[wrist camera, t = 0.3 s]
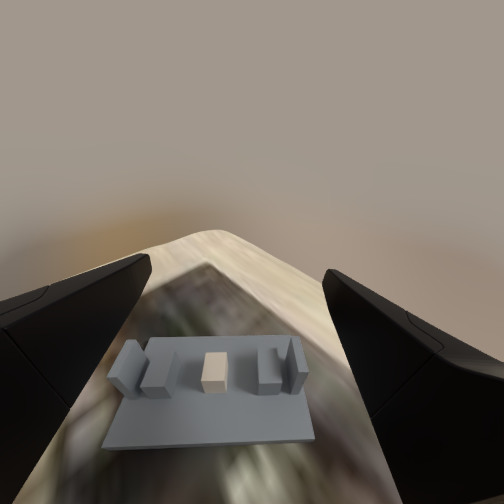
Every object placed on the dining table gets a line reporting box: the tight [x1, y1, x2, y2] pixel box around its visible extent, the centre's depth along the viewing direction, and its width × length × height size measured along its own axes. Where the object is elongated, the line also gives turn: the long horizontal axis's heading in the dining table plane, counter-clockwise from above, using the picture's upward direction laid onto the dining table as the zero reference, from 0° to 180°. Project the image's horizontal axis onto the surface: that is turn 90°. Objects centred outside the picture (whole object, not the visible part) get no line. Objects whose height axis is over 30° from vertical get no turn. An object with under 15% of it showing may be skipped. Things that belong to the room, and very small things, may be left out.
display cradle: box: [101, 335, 315, 451], centre depth 17 cm, size 9×17×6 cm, turn 92°
